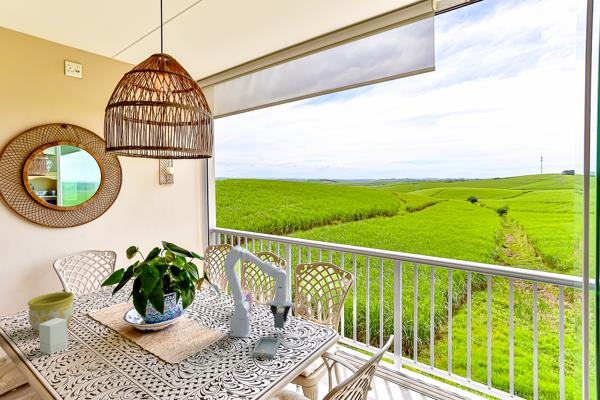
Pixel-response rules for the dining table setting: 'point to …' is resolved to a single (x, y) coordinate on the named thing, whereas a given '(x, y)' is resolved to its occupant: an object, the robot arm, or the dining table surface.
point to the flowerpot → (50, 308)
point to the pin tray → (266, 347)
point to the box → (247, 296)
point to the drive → (279, 318)
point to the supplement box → (53, 335)
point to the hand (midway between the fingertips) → (280, 320)
